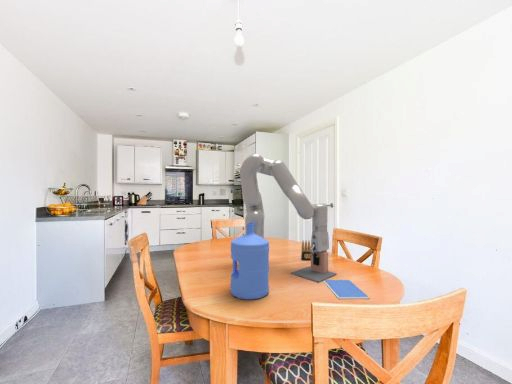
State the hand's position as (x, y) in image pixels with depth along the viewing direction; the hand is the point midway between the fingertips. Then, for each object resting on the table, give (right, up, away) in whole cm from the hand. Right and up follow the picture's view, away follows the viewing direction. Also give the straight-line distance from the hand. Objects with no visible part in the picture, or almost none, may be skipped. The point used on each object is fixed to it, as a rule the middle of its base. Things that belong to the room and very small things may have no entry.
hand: (319, 263), depth 127 cm
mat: (-4, -4, -3) cm, 7 cm away
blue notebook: (+5, -5, -22) cm, 23 cm away
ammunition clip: (0, -5, +22) cm, 22 cm away
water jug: (-35, -5, -25) cm, 44 cm away
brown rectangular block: (0, -4, 0) cm, 4 cm away
